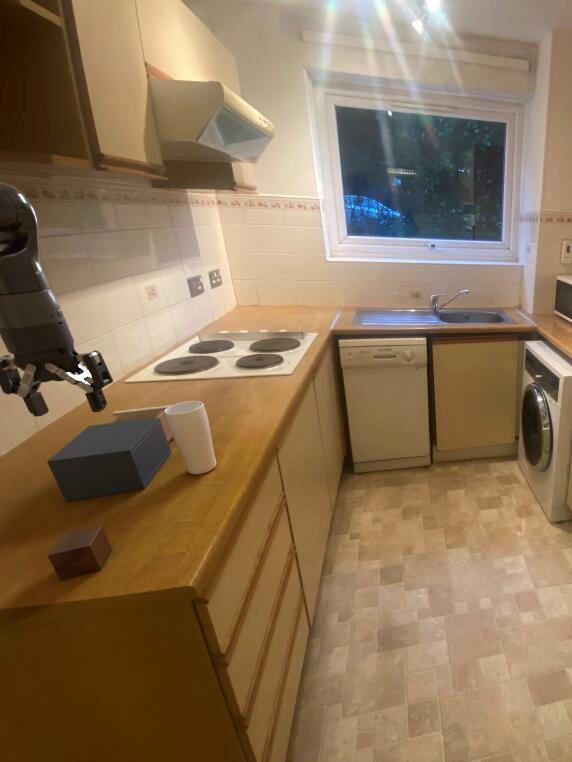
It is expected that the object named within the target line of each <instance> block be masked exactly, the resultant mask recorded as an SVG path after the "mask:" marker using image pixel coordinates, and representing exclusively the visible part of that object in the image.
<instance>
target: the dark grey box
mask: <svg viewBox="0 0 572 762" xmlns="http://www.w3.org/2000/svg"><path fill="white" fill-rule="evenodd" d="M171 454H172V450H171V447H170V445H169V442H168V441H167V438H166V435H165V432H164V429H163V426H162V424H161V421H160V418H151V419H142V420H134V421H125V422H117V423H108V424H106V423H100V424H93V425H92V424H91V425H88V426H87V427H86V428H84V429H83V430H82V431H81V432H80V433H79V434H77V435H76V436H75V437H74V438H73V439H71V440H70V441H69V442H68V443H67V444H65V445H64V446H63V447H62V448H61V449H60V450H58V451H57V452H56V453H55V454H53V456H51V457H50V458H49V459H47V460H46V462H47V465H48V467H49V469H50V471H51V473H52V475H53V477H54V479H55V482H56V484H57V486H58V488H59V490H60V492H61V494H62V496H63V499H64V501H65V502H66V503H67V502H75V501H81V500H87V499H93V498H99V497H105V496H111V495H118V494H124V493H131V492H137V491H144V490H146V488H147V487H148V486H149V484H150V483H151V482H152V480H153V479H154V477H155V476H156V475H157V473H158V472H159V471H160V470H161V468H162V467H163V465H164V464H165V463H166V461H167V460H168V459H169V457H170V456H171Z"/></svg>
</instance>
